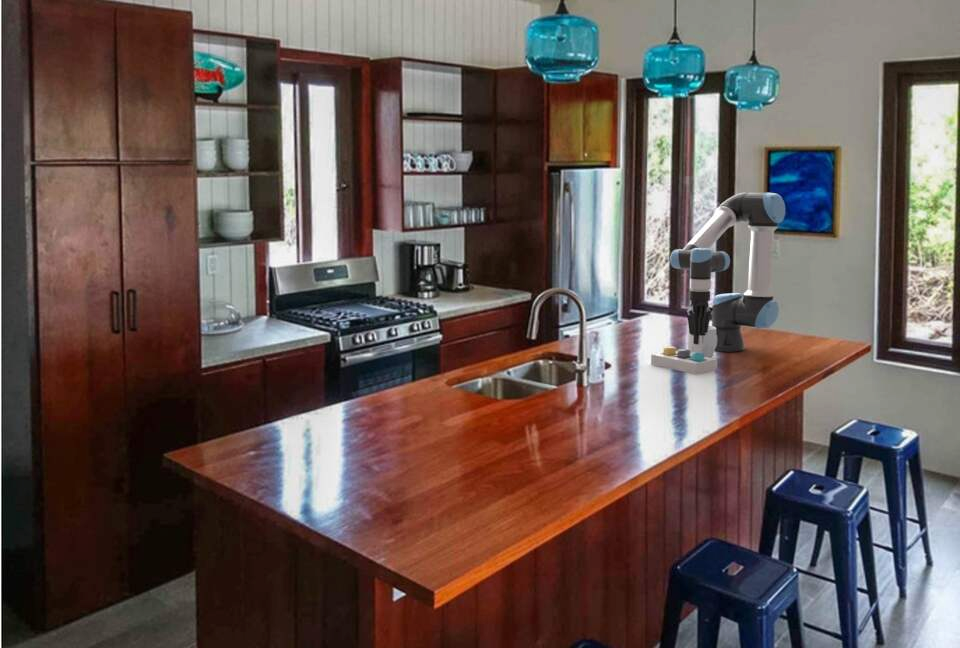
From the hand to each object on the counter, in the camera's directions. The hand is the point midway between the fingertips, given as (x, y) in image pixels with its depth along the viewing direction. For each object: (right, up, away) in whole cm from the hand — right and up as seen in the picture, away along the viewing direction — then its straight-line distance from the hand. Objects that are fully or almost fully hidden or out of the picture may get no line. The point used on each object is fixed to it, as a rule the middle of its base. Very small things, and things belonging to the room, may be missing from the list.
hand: (697, 352), depth 334 cm
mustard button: (-8, -2, +12) cm, 15 cm away
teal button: (0, -4, +1) cm, 4 cm away
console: (-4, -6, +7) cm, 10 cm away
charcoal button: (-4, -3, +6) cm, 8 cm away
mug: (+7, -4, +19) cm, 21 cm away
